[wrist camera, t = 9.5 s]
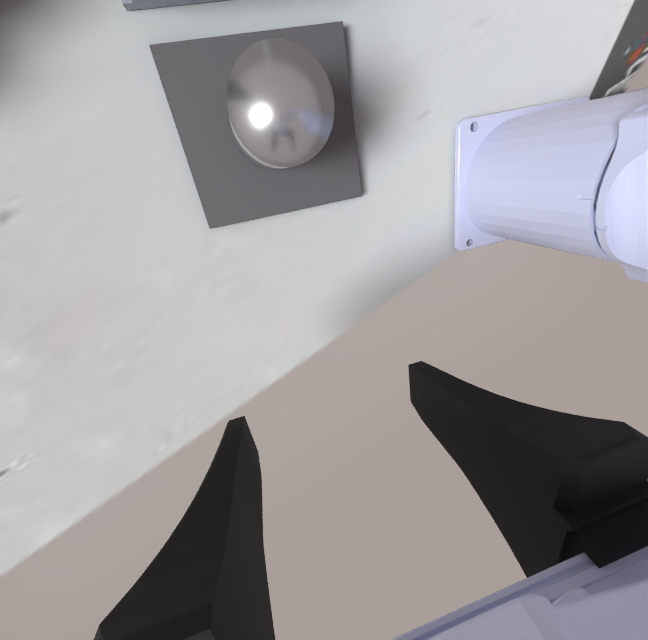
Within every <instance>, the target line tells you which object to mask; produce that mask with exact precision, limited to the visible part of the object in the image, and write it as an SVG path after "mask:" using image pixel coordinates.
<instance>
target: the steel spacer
mask: <svg viewBox="0 0 648 640" xmlns="http://www.w3.org/2000/svg"><path fill="white" fill-rule="evenodd" d="M227 107H228V113H229V119H230V125H231V131H232V135H233V138H234V140H235V143H236V145H237V147H238V148H239V150H240V151H241V153H242V154H243V155H244V156H245V157H246V158H247V159H248V160H249V161H250V162H252V163H253V164H255V165H256V166H258V167H261V168H264V169H268V170H279V169H284V168H288V167H293V166H297V165H300V164H303V163H305V162H307V161H309V160H310V159H312V158H313V157H314V156H315V155H317V154H318V153H319V152H320V150H321V149H322V148H323V146H324V145H325V143H326V141H327V140H328V137H329V135H330V133H331V129H332V126H333V121H334V111H335V110H334V97H333V92H332V88H331V84H330V82H329V79H328V77H327V75H326V72H325V70H324V69H323V67H322V66H321V64H320V63H319V62H318V60H317V59H316V58H315V57H314V56H313V55H312V54H311V53H310V52H309V51H308V50H306V49H305V48H304V47H302V46H301V45H299V44H297V43H295V42H292V41H290V40H286V39H281V38H270V39H265V40H261V41H258V42H256V43H255V44H253V45H251V46H250V47H248V48H247V49H246V50H245V51H244V52H243V53H242V54H241V55H240V56H239V58H238V59H237V61H236V62H235V64H234V66H233V68H232V70H231V73H230V76H229V80H228V85H227Z"/></svg>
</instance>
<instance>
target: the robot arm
mask: <svg viewBox="0 0 648 640" xmlns="http://www.w3.org/2000/svg"><path fill="white" fill-rule="evenodd" d="M471 124H473V126H474V128H473V131H471V129H470V126H471ZM508 239H511V240H516V241H520V242H524V243H529V244H534V245H539V246H543V247H547V248H552V249H557V250H561V251H566V252H571V253H575V254H580V255H585V256H589V257H594V258H598V259H603V260H607V261H612V262H618V263H620V264H621V265H622V266H623V267H624V268H625V271H626V276H627V278H632V279H636V280H640V281H644V282H647V283H648V88H643V89H639V90H635V91H630V92H626V93H621V94H617V95H612V96H608V97H603V98H599V99H594V100H590V99H589V98H588V97H581V98H576V99H570V100H565V101H559V102H554V103H549V104H543V105H538V106H532V107H527V108H521V109H516V110H511V111H505V112H500V113H494V114H489V115H484V116H478V117H473V118H467V119H463V120H461V121H460V122H459V123H458V124H457V126H456V143H455V208H454V248H455V249H456V250H458V251H465V250H469V249H473V248H477V247H481V246H485V245H488V244H493V243H497V242H500V241H504V240H508ZM468 240H469V243H468V245H467V244H466V243H467V241H468ZM409 381H410V397H411V402H412V404H413V406H414V407H415V409H416V411H417V412H418V414H419V416H420V417H421V419H422V420H423V422H424V423H425V424H426V426H427V427H428V428H429V429H430V431H431V432H432V433H433V434H434V436H435V437H436V438H437V439H438V440H439V442H440V443H441V444H442V446H443V447H444V448H445V449H446V451H447V452H448V453H449V454H450V455H451V457H452V458H453V459H454V460H455V462H456V463H457V464H458V466H459V467H460V468H461V470H462V471H463V473H464V474H465V476H466V477H467V479H468V480H469V482H470V483H471V485H472V486H473V488H474V489H475V491H476V492H477V494H478V495H479V497H480V499H481V500H482V502H483V503H484V505H485V507H486V508H487V510H488V511H489V513H490V514H491V516H492V518H493V519H494V521H495V523H496V524H497V526H498V528H499V529H500V531H501V533H502V534H503V536H504V538H505V540H506V541H507V543H508V545H509V546H510V548H511V550H512V552H513V553H514V555H515V557H516V559H517V561H518V562H519V564H520V566H521V568H522V569H523V571H524V573H525V575H526V577H527V578H526V579H524V580H522V581H519V582H517V583H515V584H513V585H510V586H508V587H506V588H504V589H502V590H499V591H497V592H495V593H493V594H491V595H488V596H486V597H484V598H482V599H480V600H478V601H475V602H473V603H471V604H469V605H466V606H464V607H462V608H460V609H457V610H455V611H453V612H451V613H449V614H446V615H444V616H442V617H440V618H438V619H435V620H433V621H431V622H429V623H427V624H424V625H422V626H420V627H418V628H416V629H413V630H411V631H409V632H407V633H404V634H402V635H400V636H398V637H396V638H393V639H391V640H648V481H647V479H648V437H647V436H645V435H643V434H642V433H640V432H639V431H637V430H636V429H634V428H632V427H631V426H629V425H628V424H626V423H624V422H619V421H611V420H604V419H597V418H590V417H583V416H578V415H572V414H567V413H562V412H558V411H553V410H549V409H545V408H541V407H537V406H533V405H529V404H526V403H522V402H518V401H515V400H512V399H509V398H506V397H503V396H500V395H497V394H494V393H492V392H489V391H487V390H484V389H481V388H479V387H477V386H474V385H472V384H470V383H467V382H465V381H462V380H461V379H458V378H456V377H454V376H452V375H450V374H448V373H446V372H444V371H441V370H439V369H437V368H435V367H433V366H431V365H429V364H427V363H424V362H422V361H420V362H417V363H414V364H410V365H409ZM262 520H263V519H262V480H261V469H260V462H259V455H258V450H257V448H256V445H255V442H254V440H253V437H252V435H251V433H250V429H249V427H248V424H247V422H246V419H245V416H243V417H240V418H236V419H233V420H230V421H229V422H228V423H227V426H226V429H225V432H224V434H223V437H222V440H221V442H220V445H219V447H218V450H217V452H216V454H215V457H214V459H213V461H212V463H211V466H210V468H209V470H208V472H207V474H206V476H205V478H204V480H203V482H202V484H201V486H200V488H199V490H198V492H197V494H196V495H195V497H194V499H193V501H192V503H191V504H190V506H189V508H188V509H187V511H186V513H185V514H184V516H183V518H182V519H181V521H180V522H179V524H178V525H177V527H176V529H175V530H174V532H173V533H172V535H171V536H170V538H169V539H168V541H167V542H166V543H165V545H164V546H163V548H162V549H161V551H160V552H159V553H158V555H157V556H156V557H155V559H154V560H153V561H152V562H151V564H150V565H149V566H148V568H147V569H146V570H145V572H144V573H143V574H142V576H141V577H140V578H139V579H138V581H137V582H136V583H135V584H134V585H133V587H132V588H131V589H130V590H129V591H128V593H127V594H126V595H125V596H124V597H123V598H122V599H121V601H120V602H119V603H118V604H117V605H116V606H115V607H114V609H113V610H112V611H111V612H110V613H109V614H108V616H107V617H106V618H105V619H104V620H103V621H102V622H101V623H100V625H99V628H98V630H97V633H96V635H95V638H94V640H275V635H274V628H273V621H272V612H271V605H270V597H269V589H268V582H267V574H266V573H267V572H266V564H265V555H264V545H263V521H262Z"/></svg>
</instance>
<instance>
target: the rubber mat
mask: <svg viewBox="0 0 648 640" xmlns="http://www.w3.org/2000/svg"><path fill="white" fill-rule="evenodd" d="M270 38H281V39H286V40H290V41H292V42H295V43H297V44H299V45H301V46H302V47H304V48H305V49H306V50H308V51H309V52H310V53H311V54H312V55H313V56H314V57H315V58H316V59H317V60H318V62H319V63H320V64H321V66H322V67H323V69H324V70H325V72H326V75H327V77H328V79H329V82H330V84H331V88H332V92H333V97H334V110H335V111H334V121H333V126H332V129H331V133H330V135H329V137H328V140H327V141H326V143H325V145H324V146H323V148H322V149H321V150H320V152H319V153H318V154H317V155H315V156H314V157H313V158H312V159H310V160H309V161H307V162H305V163H303V164H300V165H297V166H293V167H288V168H284V169H279V170H268V169H264V168H261V167H258V166H256V165H255V164H253V163H252V162H250V161H249V160H248V159H247V158H246V157H245V156H244V155H243V154H242V153H241V151H240V150H239V148H238V147H237V145H236V143H235V140H234V138H233V135H232V131H231V125H230V119H229V113H228V107H227V85H228V80H229V76H230V73H231V70H232V68H233V66H234V64H235V62H236V61H237V59H238V58H239V56H240V55H241V54H242V53H243V52H244V51H245V50H246V49H247V48H248V47H250V46H251V45H253V44H255V43H256V42H258V41H261V40H265V39H270ZM149 46H150V49H151V52H152V55H153V58H154V61H155V64H156V67H157V70H158V73H159V76H160V79H161V82H162V85H163V88H164V91H165V94H166V97H167V100H168V103H169V106H170V109H171V112H172V115H173V119H174V122H175V125H176V128H177V131H178V134H179V137H180V140H181V143H182V146H183V149H184V152H185V155H186V158H187V161H188V164H189V167H190V170H191V173H192V176H193V179H194V182H195V185H196V188H197V191H198V194H199V197H200V200H201V203H202V206H203V209H204V212H205V216H206V219H207V222H208V225H209V228H210V229H211V228H216V227H221V226H225V225H230V224H235V223H239V222H244V221H249V220H253V219H258V218H263V217H267V216H272V215H277V214H281V213H286V212H291V211H295V210H300V209H305V208H309V207H314V206H319V205H323V204H328V203H332V202H337V201H342V200H346V199H351V198H356V197H360V196H362V193H361V184H360V175H359V166H358V156H357V147H356V138H355V129H354V120H353V111H352V102H351V93H350V84H349V75H348V66H347V57H346V48H345V38H344V29H343V21H341V22H333V23H325V24H317V25H309V26H301V27H292V28H284V29H276V30H268V31H260V32H252V33H243V34H235V35H227V36H219V37H211V38H203V39H194V40H186V41H178V42H170V43H162V44H154V45H149Z"/></svg>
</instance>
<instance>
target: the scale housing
mask: <svg viewBox="0 0 648 640" xmlns="http://www.w3.org/2000/svg"><path fill="white" fill-rule="evenodd" d="M215 1H225V0H122V3H123V5H124V7H125V8H126V10H127V11H130V10H139V9H149V8H158V7H168V6H177V5H187V4H196V3H206V2H215Z"/></svg>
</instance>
